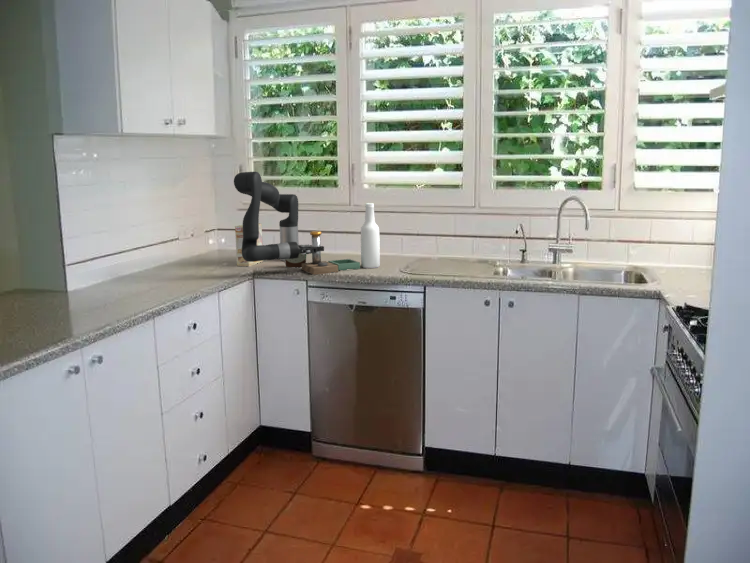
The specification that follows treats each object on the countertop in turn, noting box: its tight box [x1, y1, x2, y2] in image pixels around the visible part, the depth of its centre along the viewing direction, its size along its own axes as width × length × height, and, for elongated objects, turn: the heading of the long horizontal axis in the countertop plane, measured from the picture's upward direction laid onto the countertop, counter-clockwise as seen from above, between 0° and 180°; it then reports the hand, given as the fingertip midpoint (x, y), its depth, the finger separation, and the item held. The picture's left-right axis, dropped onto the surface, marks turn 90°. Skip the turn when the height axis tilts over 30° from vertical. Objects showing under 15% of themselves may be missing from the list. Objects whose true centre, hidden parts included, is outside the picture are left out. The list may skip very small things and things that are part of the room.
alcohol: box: [360, 202, 381, 269], centre depth 315 cm, size 9×9×30 cm
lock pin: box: [309, 230, 322, 265], centre depth 311 cm, size 5×5×17 cm
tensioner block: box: [301, 260, 339, 275], centre depth 309 cm, size 15×12×4 cm
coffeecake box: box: [234, 223, 264, 267], centre depth 330 cm, size 15×7×20 cm, turn 161°
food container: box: [284, 253, 307, 269], centre depth 321 cm, size 12×6×10 cm, turn 84°
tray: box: [327, 258, 361, 271], centre depth 316 cm, size 12×11×3 cm
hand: (321, 247), depth 312 cm, fingers closed on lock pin, 4 cm apart
